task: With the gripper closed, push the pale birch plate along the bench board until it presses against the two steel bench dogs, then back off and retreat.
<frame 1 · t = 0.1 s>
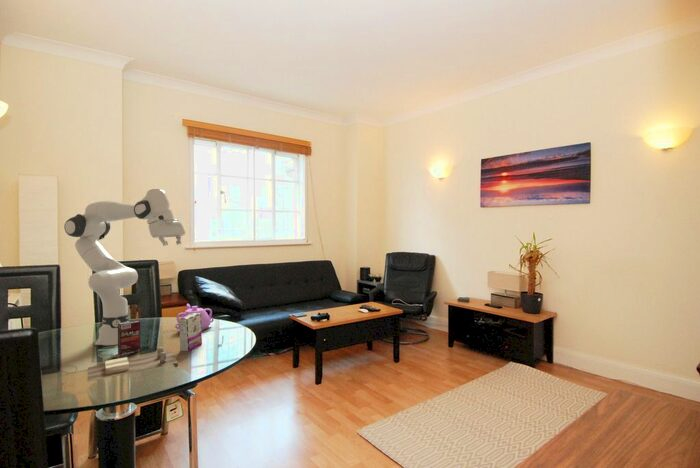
hand: (172, 244, 184), 52 cm above the table, tool tilted 20°, fingers open, 8 cm apart
bench board: (133, 368, 157), on the table
teapot: (193, 328, 217), on the table
candy bar box: (191, 348, 182), on the table
birch plate: (117, 368, 153), point 1 cm above the table, touching bench board
supplement box: (129, 355, 173), on the table
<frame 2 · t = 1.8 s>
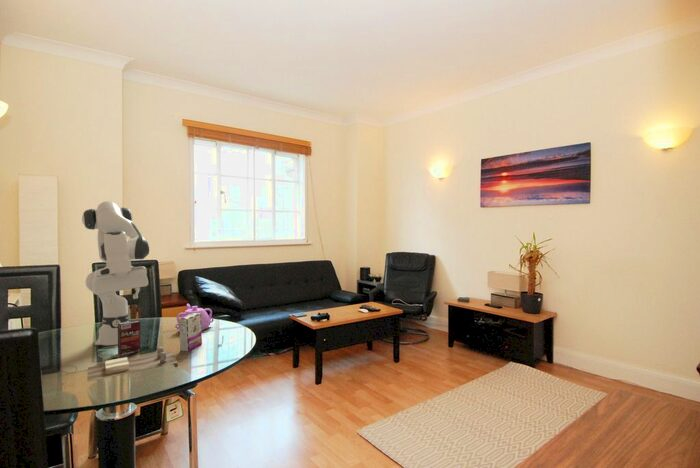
hand: (123, 301, 154), 30 cm above the table, tool pointing down, fingers open, 8 cm apart
nothing on the table moved.
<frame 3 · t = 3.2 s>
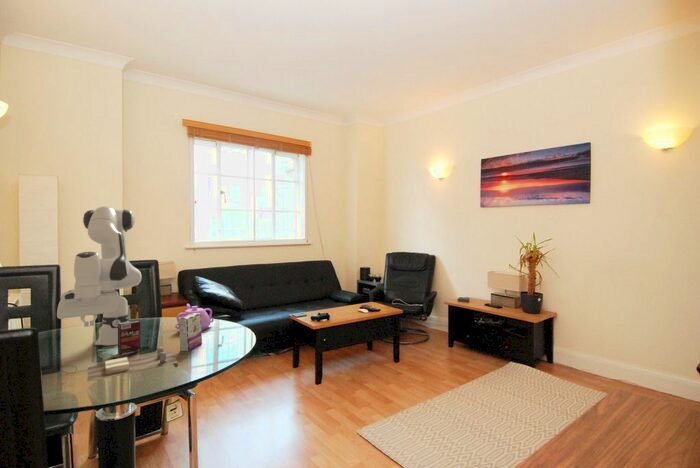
hand: (89, 325, 147), 21 cm above the table, tool pointing down, fingers closed
nothing on the table moved.
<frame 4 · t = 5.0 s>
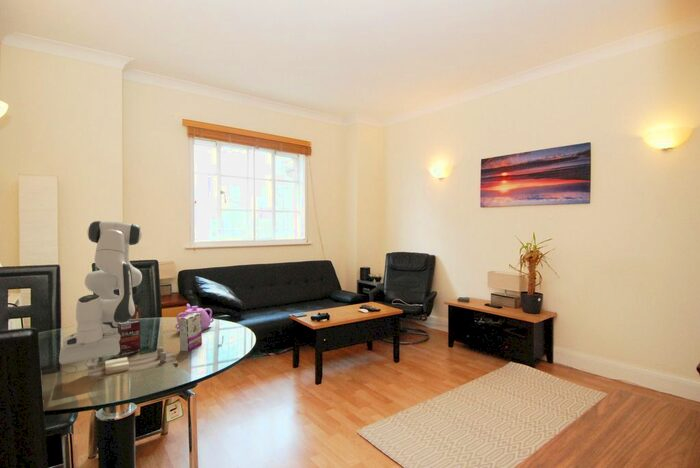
hand: (91, 369, 148), 3 cm above the table, tool pointing down, fingers closed
nothing on the table moved.
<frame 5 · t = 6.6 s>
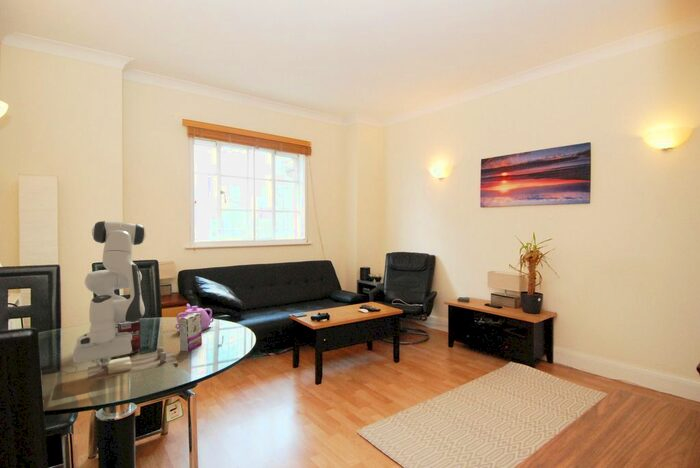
hand: (104, 368, 150), 3 cm above the table, tool pointing down, fingers closed
birch plate: (119, 367, 154), point 2 cm above the table
everything else where it was.
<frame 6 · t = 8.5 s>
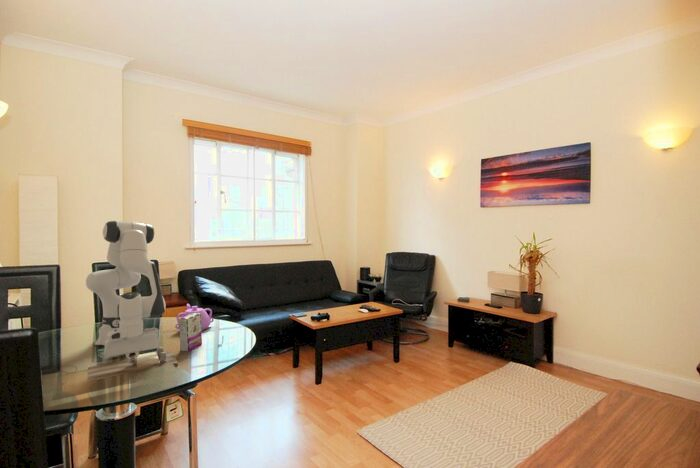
hand: (132, 362, 156), 3 cm above the table, tool pointing down, fingers closed
birch plate: (147, 362, 159), point 2 cm above the table, touching bench board, gripper
everything else where it was.
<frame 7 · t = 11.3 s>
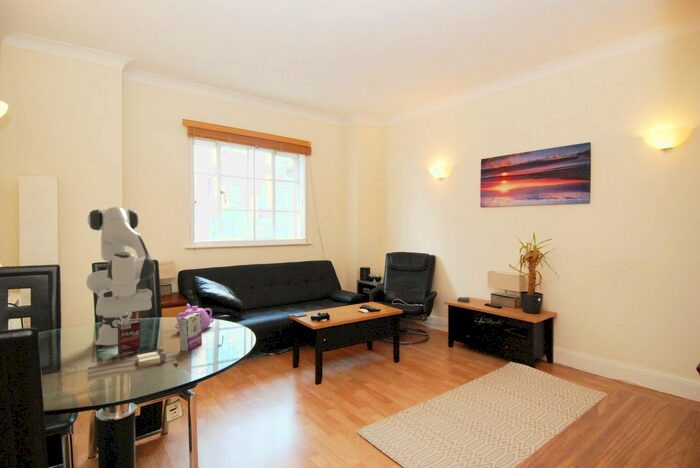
hand: (125, 322, 155), 20 cm above the table, tool pointing down, fingers closed
birch plate: (148, 361, 160), point 1 cm above the table, touching bench board
everything else where it was.
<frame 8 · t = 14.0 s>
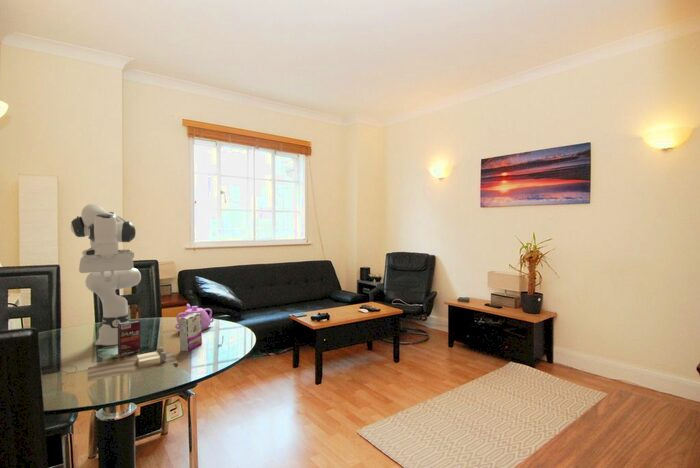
hand: (107, 281, 162), 37 cm above the table, tool pointing down, fingers closed
nothing on the table moved.
at the end: birch plate 0.1 cm from the target spot on the bench board, point 1.5 cm above the bench board's base; birch plate moved 11.8 cm from its start; the gripper is holding nothing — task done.
